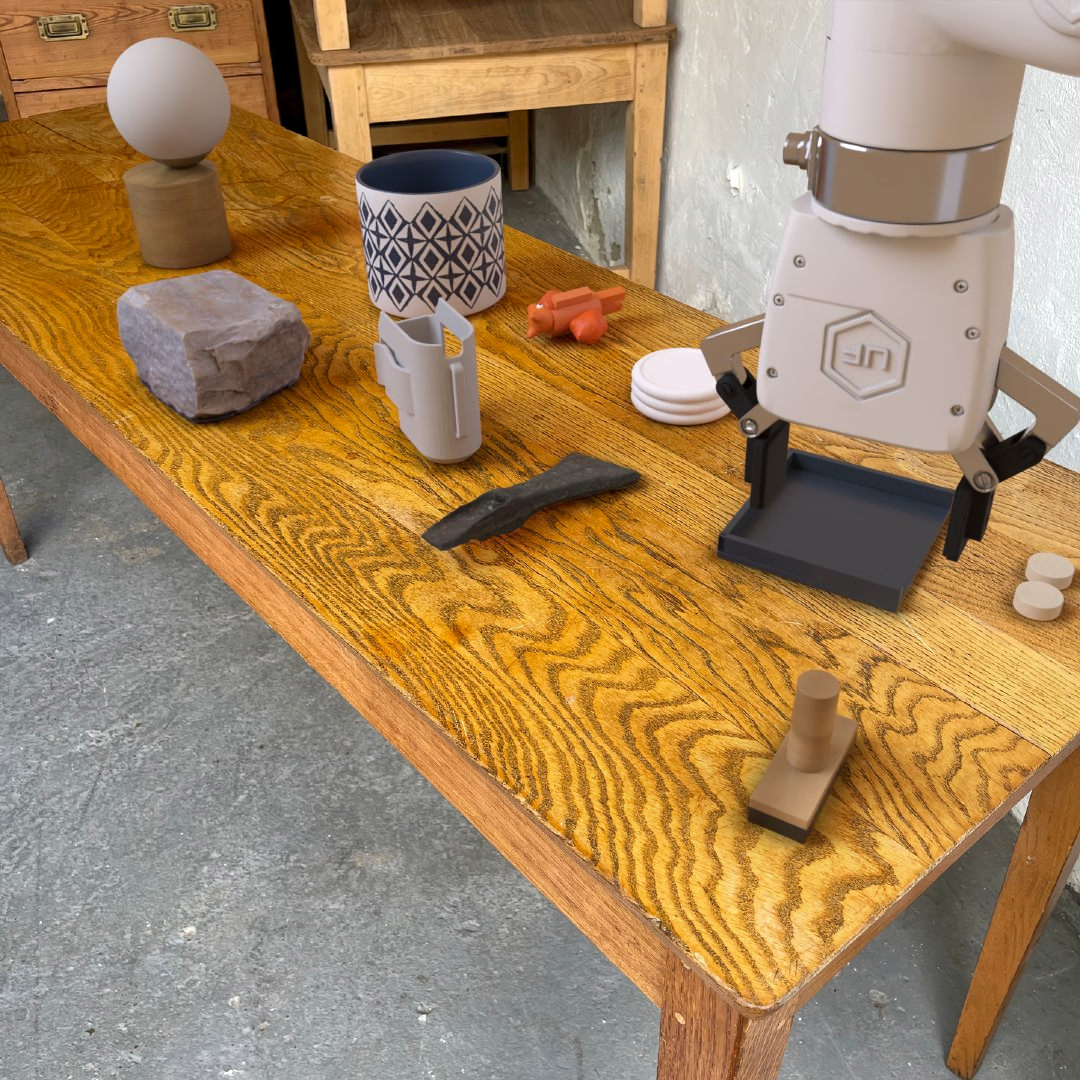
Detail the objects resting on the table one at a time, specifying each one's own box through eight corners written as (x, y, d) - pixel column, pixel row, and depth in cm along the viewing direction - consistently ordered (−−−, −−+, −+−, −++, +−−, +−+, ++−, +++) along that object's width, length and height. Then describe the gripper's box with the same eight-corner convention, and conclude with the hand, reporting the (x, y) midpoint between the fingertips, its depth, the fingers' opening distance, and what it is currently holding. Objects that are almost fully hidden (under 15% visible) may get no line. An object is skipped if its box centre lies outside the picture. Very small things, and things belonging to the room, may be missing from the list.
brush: (855, 744, 69) (874, 647, 64) (804, 844, 63) (821, 746, 58) (801, 724, 71) (816, 628, 66) (746, 820, 64) (758, 722, 60)
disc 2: (1063, 601, 80) (1068, 588, 79) (1055, 626, 78) (1059, 613, 77) (1017, 588, 81) (1021, 575, 81) (1008, 612, 79) (1011, 599, 78)
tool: (579, 465, 100) (579, 433, 98) (646, 489, 95) (647, 456, 93) (402, 547, 86) (399, 512, 85) (470, 580, 82) (468, 543, 80)
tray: (951, 511, 90) (956, 489, 89) (896, 613, 79) (900, 590, 78) (787, 467, 96) (789, 446, 95) (716, 557, 86) (718, 535, 84)
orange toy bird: (612, 264, 119) (516, 289, 115) (649, 307, 116) (551, 335, 111) (604, 301, 123) (510, 326, 119) (639, 343, 120) (544, 371, 115)
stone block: (333, 298, 108) (195, 313, 97) (330, 411, 112) (198, 437, 102) (237, 264, 117) (102, 274, 107) (238, 369, 122) (109, 388, 112)
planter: (527, 307, 125) (522, 180, 117) (392, 334, 120) (377, 203, 112) (479, 260, 137) (471, 141, 129) (354, 282, 132) (338, 161, 124)
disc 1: (1073, 571, 83) (1077, 558, 82) (1067, 595, 81) (1071, 582, 80) (1028, 560, 84) (1032, 547, 83) (1021, 583, 82) (1025, 570, 81)
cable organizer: (442, 405, 107) (431, 287, 100) (497, 463, 98) (490, 338, 91) (377, 422, 104) (362, 303, 97) (428, 483, 95) (415, 357, 88)
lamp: (190, 222, 151) (148, 23, 137) (276, 234, 147) (242, 30, 132) (114, 261, 140) (59, 49, 126) (205, 275, 135) (159, 57, 121)
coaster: (659, 436, 101) (661, 402, 99) (613, 389, 108) (614, 357, 106) (755, 414, 104) (758, 380, 102) (704, 370, 111) (706, 338, 109)
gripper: (676, 174, 47) (668, 513, 56) (1122, 230, 39) (1024, 612, 49) (745, 131, 52) (727, 448, 62) (1151, 172, 44) (1057, 528, 54)
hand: (858, 520), depth 55 cm, fingers open, 9 cm apart
